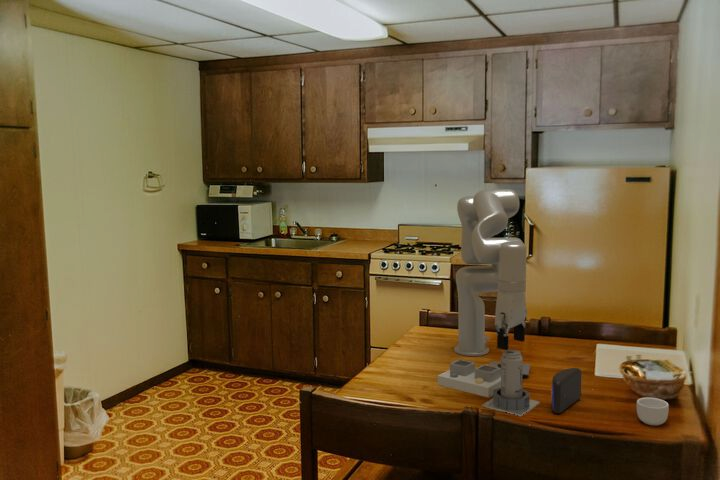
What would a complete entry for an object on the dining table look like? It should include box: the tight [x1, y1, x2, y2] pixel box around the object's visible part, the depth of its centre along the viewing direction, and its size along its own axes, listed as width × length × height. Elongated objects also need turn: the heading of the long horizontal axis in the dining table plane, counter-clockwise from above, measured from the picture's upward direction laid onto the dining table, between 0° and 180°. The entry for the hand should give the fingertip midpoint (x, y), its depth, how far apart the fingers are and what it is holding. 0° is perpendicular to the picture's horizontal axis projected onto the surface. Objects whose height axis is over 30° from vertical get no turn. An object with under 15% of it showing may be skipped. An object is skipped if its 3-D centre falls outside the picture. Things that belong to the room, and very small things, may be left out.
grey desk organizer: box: [437, 359, 501, 398], centre depth 198 cm, size 12×18×6 cm, turn 49°
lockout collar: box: [481, 388, 541, 417], centre depth 182 cm, size 12×12×4 cm
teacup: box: [636, 396, 670, 426], centre depth 169 cm, size 10×8×5 cm
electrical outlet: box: [488, 360, 531, 377], centre depth 210 cm, size 13×10×2 cm
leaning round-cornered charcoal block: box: [550, 367, 582, 414], centre depth 181 cm, size 16×5×9 cm, turn 140°
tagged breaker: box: [479, 366, 496, 372], centre depth 196 cm, size 4×4×2 cm
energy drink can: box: [500, 349, 524, 398], centre depth 182 cm, size 6×6×15 cm
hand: (511, 344), depth 181 cm, fingers open, 9 cm apart
